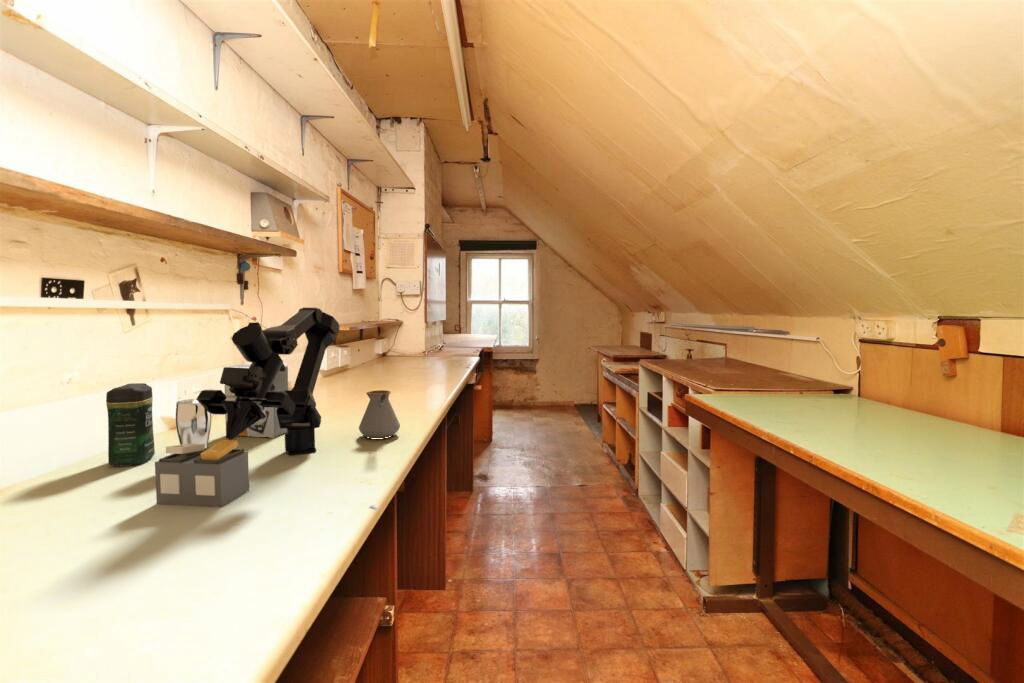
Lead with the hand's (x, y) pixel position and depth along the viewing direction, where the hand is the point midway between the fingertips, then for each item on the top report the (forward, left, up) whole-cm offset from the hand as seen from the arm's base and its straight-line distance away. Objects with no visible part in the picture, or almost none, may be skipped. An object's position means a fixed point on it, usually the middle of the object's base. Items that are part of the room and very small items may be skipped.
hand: (228, 438), depth 96 cm
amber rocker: (+1, +2, -1) cm, 3 cm away
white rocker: (+7, -2, -1) cm, 8 cm away
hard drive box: (-7, -48, -11) cm, 50 cm away
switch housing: (+4, 0, -11) cm, 12 cm away
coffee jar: (+20, -34, -11) cm, 41 cm away
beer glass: (+7, -24, -11) cm, 27 cm away
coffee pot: (-36, -24, -11) cm, 45 cm away
